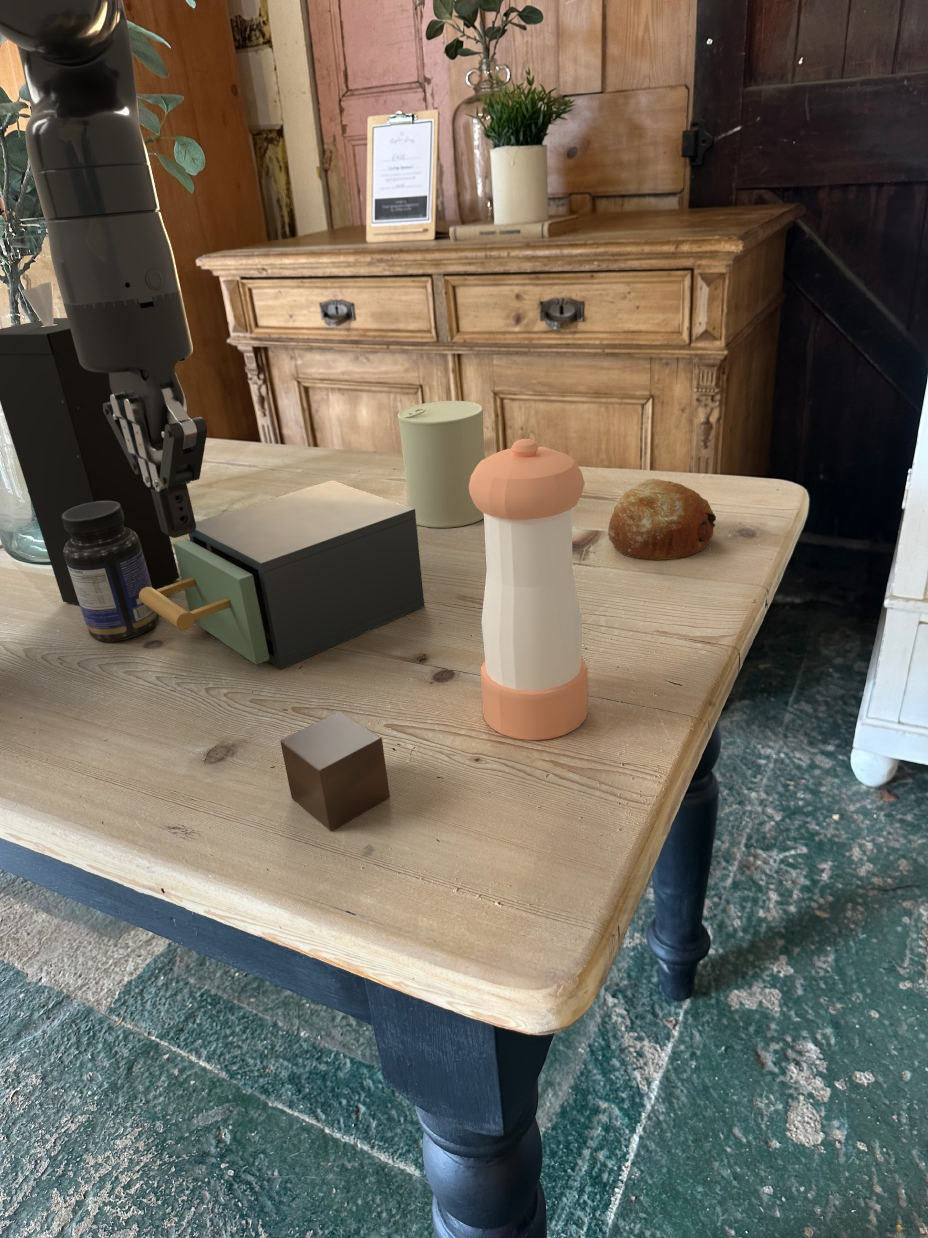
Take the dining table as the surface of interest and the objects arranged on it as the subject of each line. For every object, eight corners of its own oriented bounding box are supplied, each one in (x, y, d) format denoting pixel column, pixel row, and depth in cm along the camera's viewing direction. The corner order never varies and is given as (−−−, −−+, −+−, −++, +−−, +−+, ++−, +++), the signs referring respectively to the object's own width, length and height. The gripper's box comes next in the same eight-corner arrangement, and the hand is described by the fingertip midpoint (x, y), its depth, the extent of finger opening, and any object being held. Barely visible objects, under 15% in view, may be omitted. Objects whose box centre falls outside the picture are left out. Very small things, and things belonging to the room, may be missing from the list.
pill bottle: (148, 605, 80) (118, 492, 75) (170, 627, 76) (140, 508, 71) (80, 627, 77) (44, 510, 72) (99, 651, 73) (62, 528, 68)
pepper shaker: (487, 682, 64) (470, 426, 55) (587, 682, 63) (585, 422, 54) (478, 740, 57) (456, 460, 49) (588, 741, 56) (587, 456, 48)
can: (396, 509, 99) (385, 404, 93) (470, 494, 102) (463, 391, 96) (424, 534, 91) (413, 422, 86) (503, 517, 94) (497, 407, 89)
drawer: (203, 688, 64) (181, 600, 61) (141, 639, 72) (119, 559, 69) (394, 606, 74) (385, 526, 71) (322, 571, 82) (310, 498, 79)
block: (330, 832, 50) (319, 771, 48) (291, 798, 53) (279, 739, 51) (390, 797, 53) (382, 737, 51) (349, 767, 56) (340, 709, 54)
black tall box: (61, 603, 82) (-37, 291, 69) (120, 570, 88) (39, 278, 75) (125, 613, 79) (34, 288, 66) (181, 578, 85) (108, 275, 72)
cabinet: (281, 669, 68) (260, 563, 64) (208, 620, 76) (186, 524, 72) (425, 606, 76) (415, 508, 72) (344, 568, 85) (331, 479, 80)
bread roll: (626, 554, 92) (593, 489, 89) (719, 515, 88) (688, 446, 85) (625, 594, 83) (589, 524, 80) (728, 553, 79) (694, 478, 77)
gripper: (32, 294, 60) (99, 528, 68) (102, 302, 51) (170, 571, 59) (136, 280, 64) (187, 501, 72) (218, 285, 55) (267, 538, 63)
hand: (180, 532), depth 65 cm, fingers closed
